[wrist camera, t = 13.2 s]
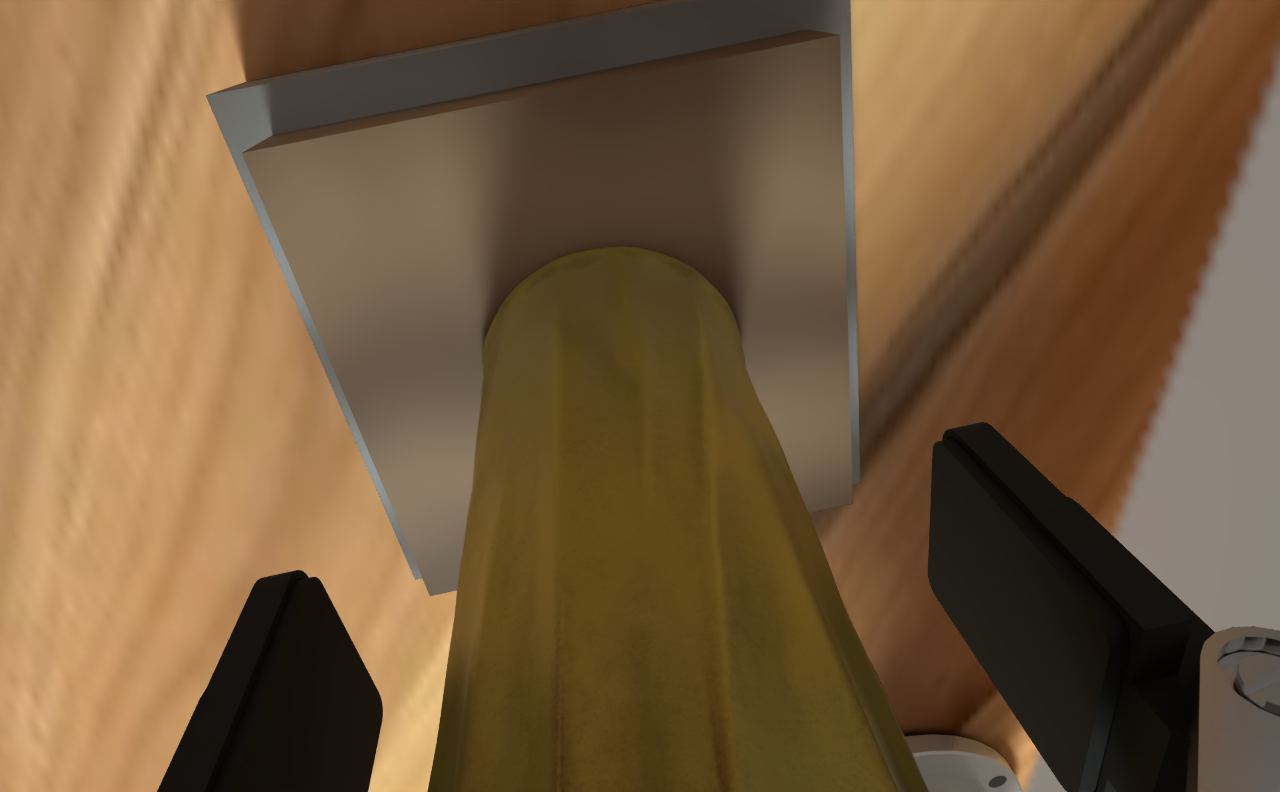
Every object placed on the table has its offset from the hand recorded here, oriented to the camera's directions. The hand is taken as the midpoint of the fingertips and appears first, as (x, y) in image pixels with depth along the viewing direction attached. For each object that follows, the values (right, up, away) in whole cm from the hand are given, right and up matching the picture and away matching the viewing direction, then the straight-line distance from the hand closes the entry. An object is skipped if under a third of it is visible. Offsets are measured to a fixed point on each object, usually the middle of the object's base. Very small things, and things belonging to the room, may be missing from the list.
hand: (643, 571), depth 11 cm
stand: (-2, +6, +10) cm, 12 cm away
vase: (-1, +3, +7) cm, 7 cm away
